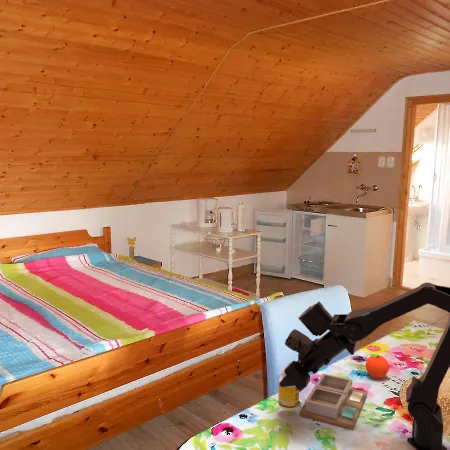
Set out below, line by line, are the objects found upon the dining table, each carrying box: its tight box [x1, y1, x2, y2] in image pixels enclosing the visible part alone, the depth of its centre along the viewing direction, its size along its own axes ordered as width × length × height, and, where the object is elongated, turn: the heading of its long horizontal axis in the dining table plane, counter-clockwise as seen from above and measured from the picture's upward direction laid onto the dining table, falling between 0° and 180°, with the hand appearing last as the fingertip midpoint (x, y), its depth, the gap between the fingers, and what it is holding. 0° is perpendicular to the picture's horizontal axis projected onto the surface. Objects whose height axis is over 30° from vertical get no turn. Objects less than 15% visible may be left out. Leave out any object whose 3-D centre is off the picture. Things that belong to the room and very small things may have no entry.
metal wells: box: [304, 373, 353, 420], centre depth 131 cm, size 18×9×3 cm, turn 153°
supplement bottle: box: [277, 367, 300, 411], centre depth 125 cm, size 5×5×10 cm
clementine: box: [364, 353, 390, 379], centre depth 147 cm, size 8×7×7 cm
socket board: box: [299, 385, 368, 430], centre depth 131 cm, size 19×14×2 cm
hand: (284, 380), depth 125 cm, fingers closed on supplement bottle, 5 cm apart
